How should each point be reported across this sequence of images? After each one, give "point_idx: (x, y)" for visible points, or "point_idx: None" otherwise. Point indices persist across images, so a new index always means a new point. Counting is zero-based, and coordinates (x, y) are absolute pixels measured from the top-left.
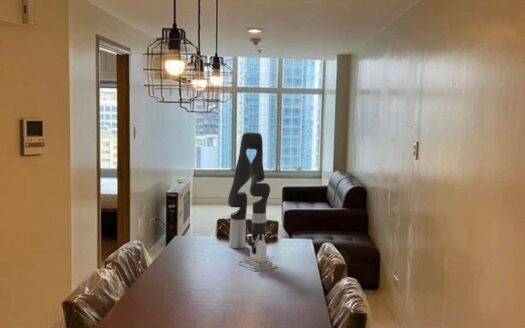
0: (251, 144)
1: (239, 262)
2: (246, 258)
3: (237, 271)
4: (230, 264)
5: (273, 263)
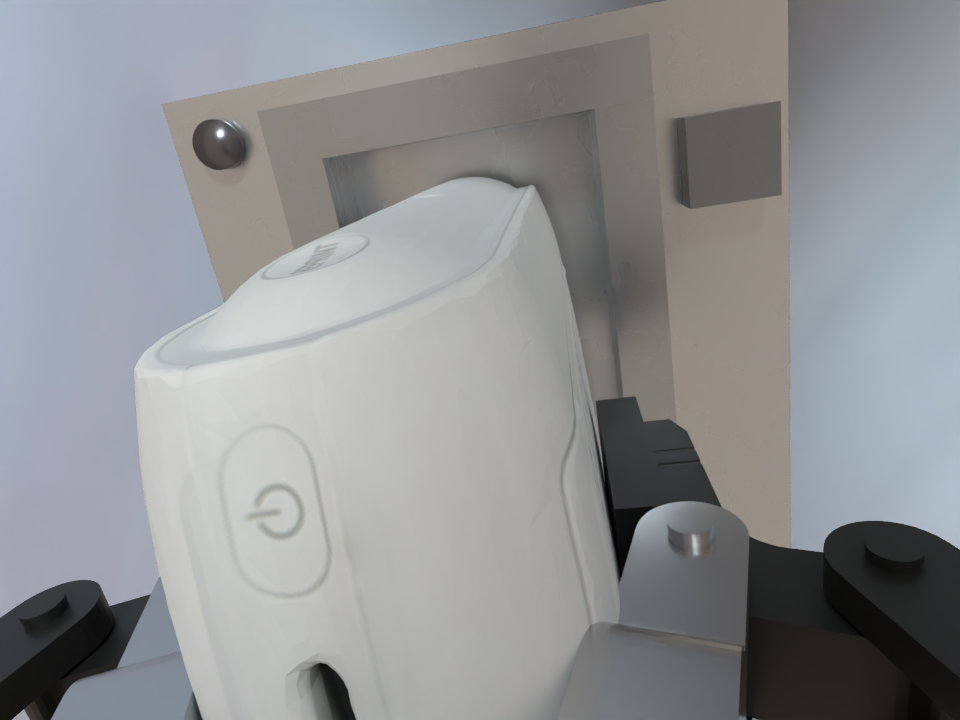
0: None
1: (190, 160)
2: (301, 196)
3: (100, 498)
4: (45, 102)
5: (789, 455)
